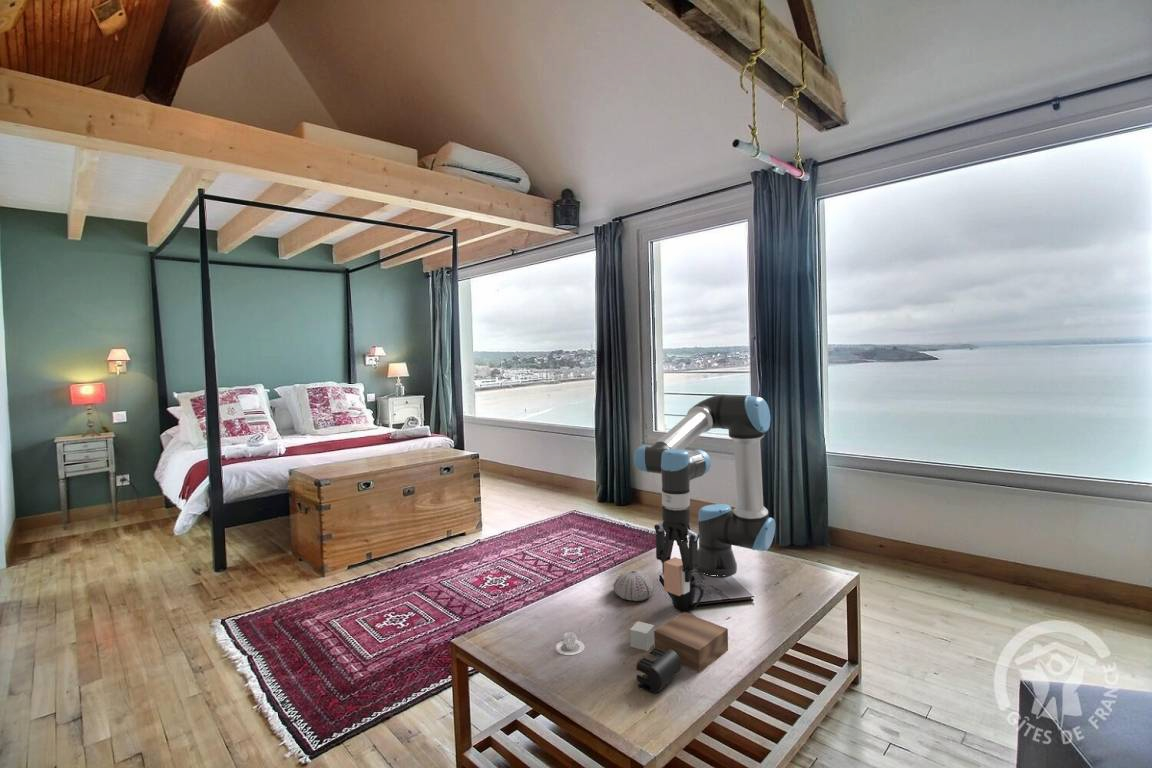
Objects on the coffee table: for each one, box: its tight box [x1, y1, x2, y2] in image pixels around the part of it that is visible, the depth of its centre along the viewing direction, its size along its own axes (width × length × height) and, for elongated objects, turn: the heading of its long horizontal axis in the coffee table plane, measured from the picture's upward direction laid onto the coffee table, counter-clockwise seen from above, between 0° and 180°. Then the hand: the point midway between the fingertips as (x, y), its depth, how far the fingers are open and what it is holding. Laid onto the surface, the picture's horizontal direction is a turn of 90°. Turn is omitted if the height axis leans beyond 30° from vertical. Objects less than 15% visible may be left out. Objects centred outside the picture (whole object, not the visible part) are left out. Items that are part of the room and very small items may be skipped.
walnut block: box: [654, 611, 729, 673], centre depth 149 cm, size 14×14×6 cm
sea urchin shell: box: [612, 569, 655, 602], centre depth 184 cm, size 13×14×8 cm
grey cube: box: [629, 620, 655, 652], centre depth 154 cm, size 5×5×5 cm
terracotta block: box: [663, 556, 684, 596], centre depth 152 cm, size 5×5×8 cm
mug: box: [669, 574, 705, 613], centre depth 172 cm, size 8×12×10 cm
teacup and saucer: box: [555, 631, 585, 656], centre depth 154 cm, size 9×8×4 cm
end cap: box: [636, 647, 682, 694], centre depth 136 cm, size 10×7×7 cm
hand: (677, 589), depth 153 cm, fingers closed on terracotta block, 5 cm apart
